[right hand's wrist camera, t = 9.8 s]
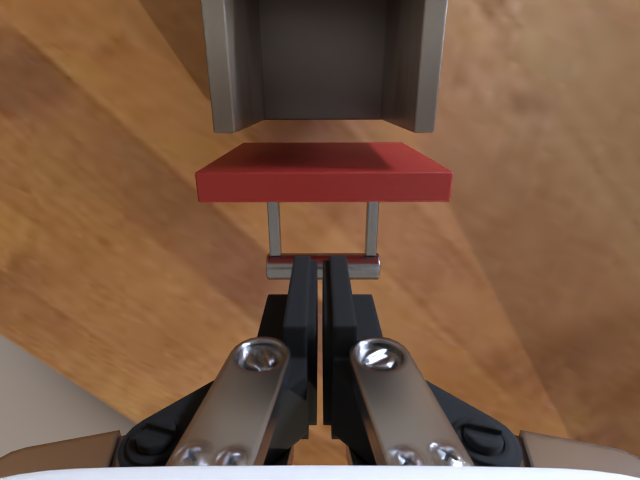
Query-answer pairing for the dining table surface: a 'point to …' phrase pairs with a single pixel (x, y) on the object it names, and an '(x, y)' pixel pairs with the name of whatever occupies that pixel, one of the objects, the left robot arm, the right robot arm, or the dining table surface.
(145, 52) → the dining table surface
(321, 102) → the drawer
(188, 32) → the dining table surface
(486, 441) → the right robot arm
